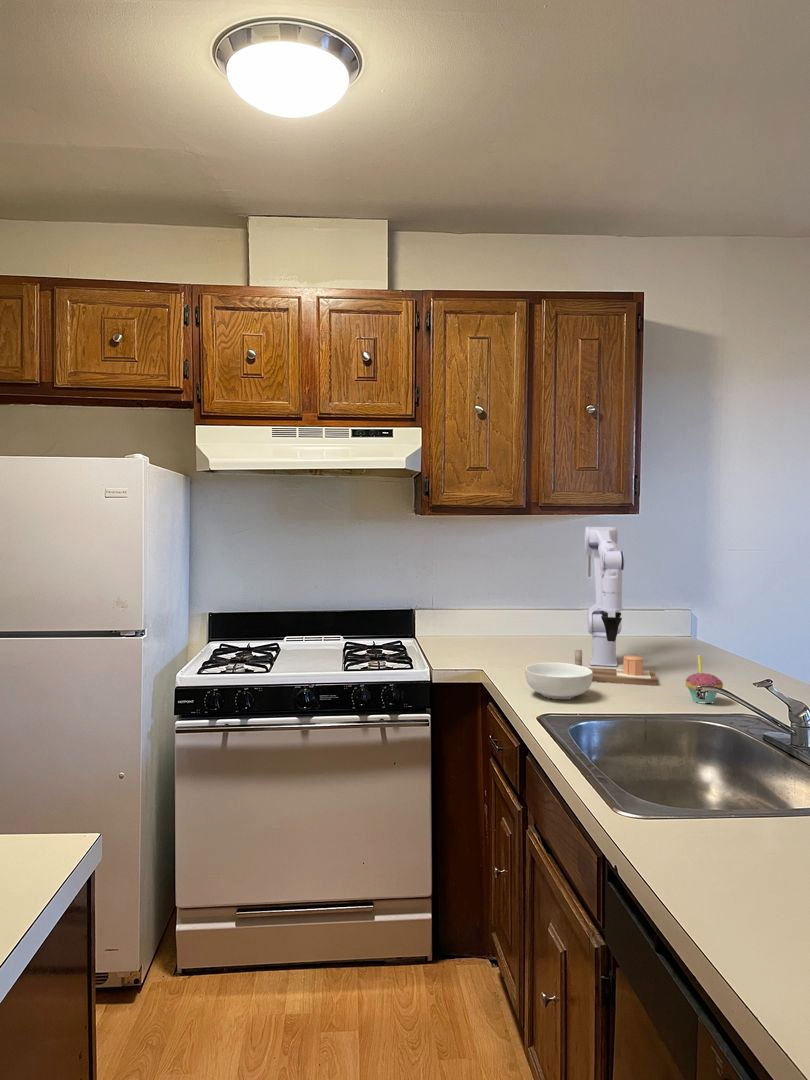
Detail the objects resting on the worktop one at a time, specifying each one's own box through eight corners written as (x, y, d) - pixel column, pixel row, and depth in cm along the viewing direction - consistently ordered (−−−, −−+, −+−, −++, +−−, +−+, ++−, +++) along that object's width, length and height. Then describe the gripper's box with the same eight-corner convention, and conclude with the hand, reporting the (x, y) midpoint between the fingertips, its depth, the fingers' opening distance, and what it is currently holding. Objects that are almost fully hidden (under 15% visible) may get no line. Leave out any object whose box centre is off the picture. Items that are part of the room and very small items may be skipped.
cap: (624, 670, 205) (624, 654, 205) (643, 672, 203) (644, 656, 202) (622, 674, 200) (622, 658, 200) (641, 676, 198) (642, 659, 198)
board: (554, 671, 212) (554, 645, 212) (654, 676, 205) (654, 650, 205) (552, 679, 202) (552, 652, 202) (657, 685, 194) (657, 658, 194)
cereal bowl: (543, 707, 173) (544, 678, 173) (514, 690, 189) (514, 664, 189) (605, 701, 178) (605, 673, 178) (571, 686, 194) (571, 660, 194)
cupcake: (677, 699, 180) (678, 651, 180) (704, 696, 183) (705, 649, 183) (703, 707, 172) (703, 658, 172) (730, 704, 175) (731, 655, 175)
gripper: (597, 589, 215) (597, 634, 215) (597, 594, 201) (596, 642, 201) (622, 590, 213) (621, 635, 213) (623, 595, 199) (622, 643, 199)
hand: (611, 639), depth 207 cm, fingers open, 7 cm apart
